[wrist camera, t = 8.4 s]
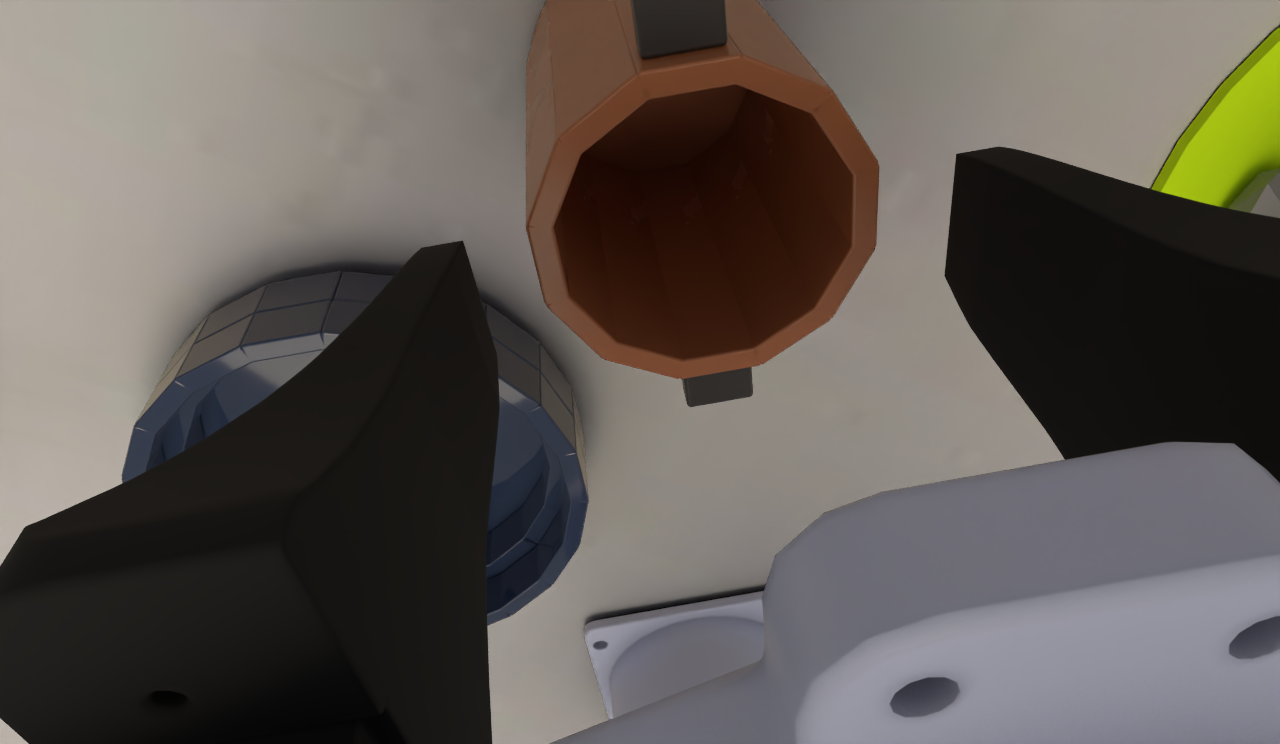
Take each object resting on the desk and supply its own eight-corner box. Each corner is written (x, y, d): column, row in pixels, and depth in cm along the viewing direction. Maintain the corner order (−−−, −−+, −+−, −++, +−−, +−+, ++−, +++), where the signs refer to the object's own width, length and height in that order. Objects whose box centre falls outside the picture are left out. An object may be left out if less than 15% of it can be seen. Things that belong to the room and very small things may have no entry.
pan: (608, 530, 28) (616, 610, 25) (269, 589, 28) (243, 675, 25) (535, 225, 21) (536, 294, 18) (83, 304, 21) (22, 383, 18)
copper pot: (768, 193, 21) (871, 392, 15) (563, 229, 21) (578, 443, 15) (752, -138, 17) (890, -55, 10) (493, -92, 17) (473, 17, 10)
